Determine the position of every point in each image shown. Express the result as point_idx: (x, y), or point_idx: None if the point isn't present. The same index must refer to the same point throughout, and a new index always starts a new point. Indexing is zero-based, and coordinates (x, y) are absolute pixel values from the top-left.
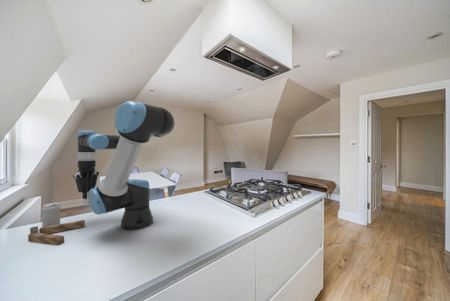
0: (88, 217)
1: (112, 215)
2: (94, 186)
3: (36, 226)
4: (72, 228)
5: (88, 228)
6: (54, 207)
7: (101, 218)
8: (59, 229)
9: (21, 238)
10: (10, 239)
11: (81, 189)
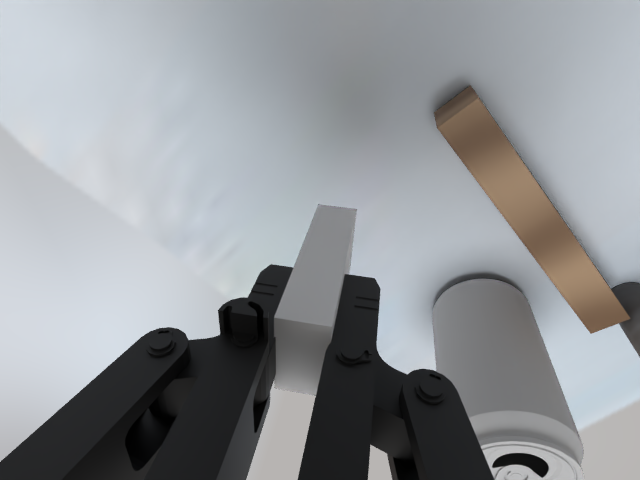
0: (266, 222)
1: (171, 41)
2: (127, 380)
3: (638, 350)
4: (517, 153)
5: (494, 19)
6: (546, 421)
7: (259, 94)
8: (563, 220)
9: (624, 350)
10: (626, 387)
11: (476, 449)
